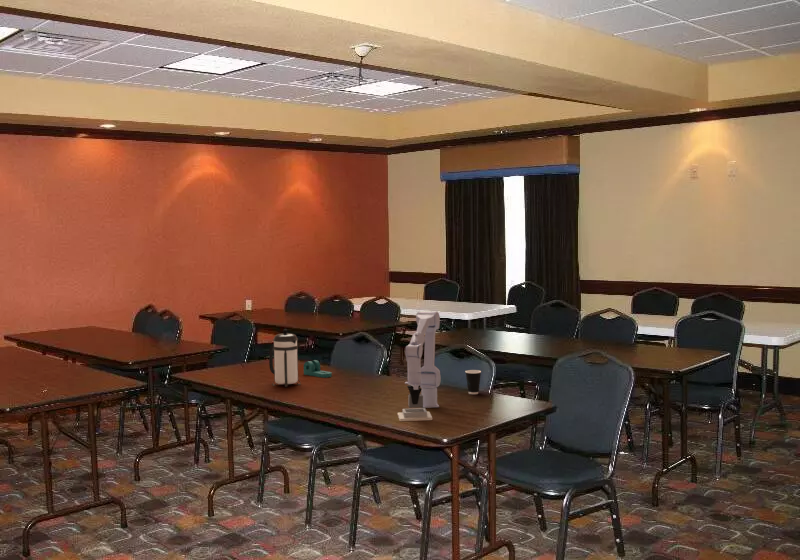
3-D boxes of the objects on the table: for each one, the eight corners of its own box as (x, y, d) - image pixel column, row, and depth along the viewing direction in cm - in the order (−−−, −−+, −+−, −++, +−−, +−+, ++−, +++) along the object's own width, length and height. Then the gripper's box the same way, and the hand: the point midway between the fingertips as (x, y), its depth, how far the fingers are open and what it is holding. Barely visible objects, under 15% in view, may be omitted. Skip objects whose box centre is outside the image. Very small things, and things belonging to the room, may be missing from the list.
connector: (408, 405, 355) (408, 394, 354) (422, 405, 355) (421, 394, 355) (409, 407, 351) (409, 396, 350) (423, 407, 351) (422, 396, 351)
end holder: (397, 414, 358) (397, 408, 358) (429, 413, 360) (428, 406, 359) (399, 421, 347) (399, 414, 346) (432, 420, 348) (432, 413, 348)
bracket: (303, 374, 460) (303, 361, 460) (312, 373, 465) (312, 359, 465) (325, 378, 448) (324, 364, 448) (334, 376, 453) (333, 362, 453)
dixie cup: (484, 392, 403) (484, 370, 402) (476, 395, 396) (476, 373, 395) (470, 391, 407) (469, 369, 406) (462, 393, 401) (462, 371, 400)
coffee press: (302, 381, 439) (300, 326, 437) (299, 387, 423) (297, 330, 421) (269, 382, 438) (268, 327, 436) (265, 388, 422) (264, 331, 420)
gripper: (403, 369, 359) (403, 399, 360) (406, 375, 344) (406, 406, 345) (419, 368, 359) (419, 399, 360) (423, 374, 345) (423, 406, 346)
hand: (414, 403), depth 353 cm, fingers closed on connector, 4 cm apart
